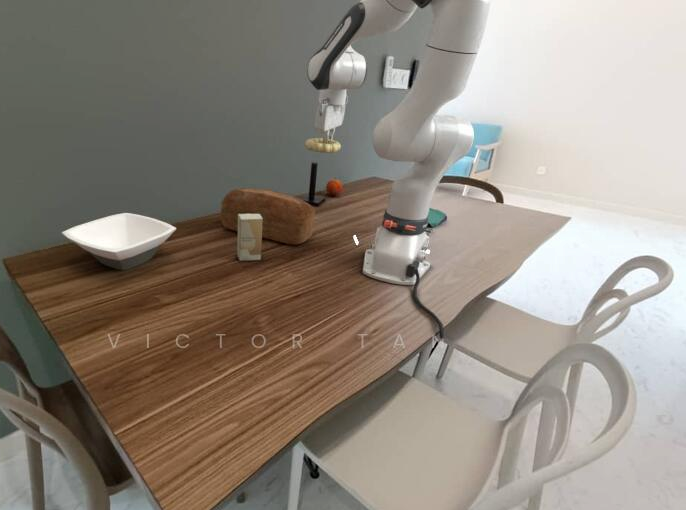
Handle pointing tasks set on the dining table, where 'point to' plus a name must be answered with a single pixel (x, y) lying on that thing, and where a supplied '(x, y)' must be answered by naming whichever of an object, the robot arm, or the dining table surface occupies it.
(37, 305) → the dining table surface
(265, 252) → the dining table surface
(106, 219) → the bowl
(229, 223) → the bread
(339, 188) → the fruit
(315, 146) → the pale yellow segmented ring
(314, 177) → the peg stand
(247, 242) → the cosmetic box
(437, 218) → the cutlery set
